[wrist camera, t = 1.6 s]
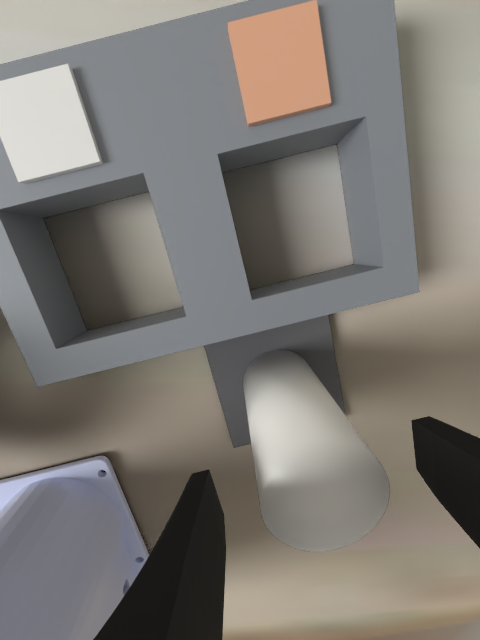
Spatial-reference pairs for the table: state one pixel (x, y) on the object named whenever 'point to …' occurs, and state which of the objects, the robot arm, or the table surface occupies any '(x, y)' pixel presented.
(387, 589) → the table surface
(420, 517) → the table surface
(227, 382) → the plug mat
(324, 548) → the plug
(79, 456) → the table surface
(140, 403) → the table surface
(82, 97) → the socket board
